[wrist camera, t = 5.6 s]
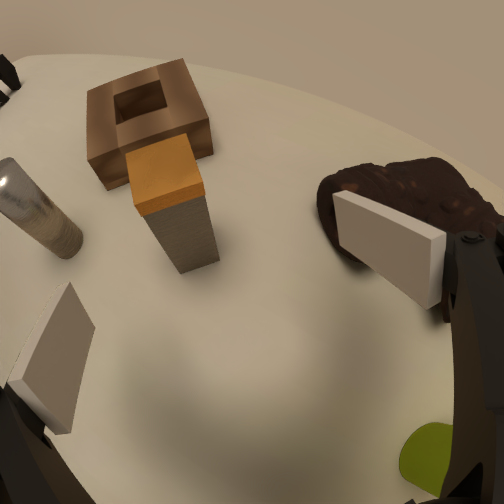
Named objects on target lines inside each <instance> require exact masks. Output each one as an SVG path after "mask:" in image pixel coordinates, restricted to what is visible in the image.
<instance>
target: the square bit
mask: <svg viewBox="0 0 504 504" xmlns="http://www.w3.org/2000/svg"><path fill="white" fill-rule="evenodd" d="M125 156H126V162H127V168H128V174H129V180H130V186H131V191H132V197H133V202H134V206H135V207H136V209H137V211H138V212H139V214H140V215H141V217H142V216H143V218H144V219H145V221H146V223H147V224H148V226H149V227H150V229H151V230H152V232H153V234H154V235H155V237H156V238H157V240H158V241H159V243H160V244H161V246H162V247H163V249H164V251H165V252H166V254H167V255H168V257H169V258H170V260H171V261H172V263H173V264H174V266H175V267H176V269H177V270H178V271H179V273H180V274H182V273H185V272H188V271H191V270H193V269H196V268H199V267H202V266H205V265H208V264H211V263H214V262H217V261H220V258H219V254H218V250H217V246H216V242H215V237H214V233H213V229H212V225H211V220H210V216H209V212H208V207H207V203H206V199H205V195H206V194H205V189H204V184H203V180H202V178H201V175H200V172H199V169H198V166H197V163H196V161H195V158H194V155H193V152H192V149H191V146H190V143H189V140H188V137H187V134H186V133H184V134H181V135H178V136H175V137H172V138H169V139H166V140H163V141H160V142H157V143H154V144H151V145H148V146H145V147H142V148H140V149H137V150H134V151H132V152H129V153H126V154H125Z"/></svg>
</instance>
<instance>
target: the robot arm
mask: <svg viewBox="0 0 504 504" xmlns="http://www.w3.org/2000/svg"><path fill="white" fill-rule="evenodd" d="M332 195H333V201H334V207H335V214H336V221H337V228H338V236H339V244H340V246H342V247H343V248H344V249H346V250H347V251H349V252H350V253H351V254H353V255H354V256H356V257H357V258H358V259H360V260H361V261H362V262H364V263H365V264H367V265H368V266H369V267H371V268H372V269H373V270H375V271H376V272H377V273H379V274H380V275H381V276H383V277H384V278H385V279H387V280H388V281H389V282H391V283H392V284H393V285H395V286H396V287H397V288H399V289H400V290H401V291H403V292H404V293H405V294H407V295H408V296H409V297H410V298H412V299H413V300H414V301H416V302H417V303H418V304H419V305H421V306H422V307H423V308H424V309H426V310H427V309H429V308H431V307H433V306H434V305H436V304H438V303H439V302H441V296H442V287H443V288H445V289H446V290H447V291H449V298H448V305H447V311H446V317H448V316H449V313H450V321H451V331H452V344H453V363H454V416H453V434H452V446H451V456H450V463H449V467H448V471H447V473H446V476H445V478H444V481H443V485H442V488H441V493H440V497H439V499H433V500H430V501H426V502H422V503H419V504H504V223H500V224H498V225H497V230H496V237H493V238H488V239H487V238H486V237H485V236H484V235H483V234H481V233H478V232H474V231H461V232H459V233H457V234H456V235H455V234H452V233H450V232H448V231H446V230H444V229H442V228H440V227H437V226H434V225H433V224H431V223H427V222H426V221H424V220H422V219H420V218H416V217H411V216H408V215H406V214H404V213H401V212H399V211H397V210H394V209H392V208H390V207H387V206H385V205H382V204H380V203H377V202H375V201H372V200H370V199H367V198H365V197H362V196H360V195H357V194H355V193H352V192H349V191H347V190H344V191H341V192H338V193H334V194H332ZM94 330H95V326H94V325H93V323H92V321H91V319H90V318H89V316H88V314H87V312H86V311H85V309H84V307H83V305H82V303H81V301H80V300H79V298H78V296H77V294H76V292H75V290H74V288H73V286H72V284H71V282H67V283H64V284H62V285H59V286H57V288H56V290H55V291H54V293H53V295H52V296H51V298H50V300H49V301H48V303H47V305H46V306H45V308H44V310H43V312H42V313H41V315H40V317H39V319H38V320H37V322H36V324H35V326H34V328H33V330H32V331H31V333H30V335H29V337H28V339H27V341H26V343H25V345H24V347H23V349H22V351H21V353H20V354H19V356H18V358H17V360H16V363H15V365H14V367H13V370H12V371H11V373H10V375H9V378H8V380H7V382H6V384H5V387H4V389H2V387H1V386H0V504H96V503H95V502H94V500H93V499H92V498H91V497H90V495H89V494H88V493H87V492H86V490H85V489H84V488H83V487H82V485H81V484H80V483H79V481H78V480H77V479H76V477H75V476H74V475H73V473H72V472H71V470H70V469H69V467H68V466H67V465H66V463H65V462H64V460H63V459H62V457H61V456H60V454H59V453H58V451H57V450H56V448H55V446H54V445H53V443H52V442H51V440H50V439H49V438H48V437H47V436H46V435H45V434H44V428H45V425H46V426H47V427H48V428H49V429H50V430H51V431H52V432H53V433H54V434H55V435H59V434H67V433H71V430H72V424H73V418H74V413H75V408H76V403H77V398H78V393H79V389H80V384H81V380H82V376H83V372H84V368H85V364H86V360H87V356H88V352H89V348H90V345H91V341H92V337H93V334H94ZM405 504H416V503H415V502H414V500H413V499H411V500H410V501H408V502H406V503H405Z"/></svg>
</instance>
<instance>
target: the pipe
mask: <svg viewBox="0 0 504 504" xmlns="http://www.w3.org/2000/svg"><path fill="white" fill-rule="evenodd" d="M344 190H347V191H349V192H352V193H355V194H357V195H360V196H362V197H365V198H367V199H370V200H372V201H375V202H377V203H380V204H382V205H385V206H387V207H390V208H392V209H394V210H397V211H399V212H401V213H404V214H406V215H408V216H411V217H416V218H420V219H422V220H424V221H426V222H427V223H431V224H433V225H434V226H437V227H440V228H442V229H444V230H446V231H448V232H450V233H452V234H455V235H456V234H457V233H459V232H461V231H474V232H478V233H481V234H483V235H484V236H485V237H486V238H487V239H488V238H493V237H496V230H497V225H498V224H500V223H504V216H502V215H499V214H498V213H497V212H496V211H495V209H494V207H493V205H492V204H491V203H490V202H486V201H484V200H483V198H482V196H481V195H480V194H479V192H478V191H476V190H475V189H474V188H470V187H469V186H468V184H467V182H466V181H465V179H464V178H463V176H462V175H461V174H460V173H459V172H458V171H457V170H456V169H455V168H454V167H453V166H452V165H451V164H449V163H448V162H447V161H445V160H443V159H441V158H437V157H430V158H427V159H424V158H423V159H416V160H411V161H404V162H393V163H389V164H387V165H386V166H385V167H383V166H379V165H374V164H372V163H365V164H360V165H359V166H358V165H357V166H354V167H350V168H344V169H343V170H339V171H338V172H337V173H336V174H332V175H329V176H327V177H325V178H324V179H323V180H322V181H321V183H320V185H319V188H318V191H317V208H318V212H319V216H320V219H321V222H322V224H323V226H324V228H325V230H326V232H327V234H328V236H329V238H330V240H331V241H332V243H333V245H334V246H335V248H337V249H338V250H339V251H340V252H342V253H343V254H344V255H346V256H347V257H349V258H350V259H352V260H354V261H356V262H361V263H364V262H362V261H361V260H360V259H358V258H357V257H356V256H354V255H353V254H351V253H350V252H349V251H347V250H346V249H344V248H343V247H342V246H340V244H339V236H338V228H337V221H336V214H335V207H334V201H333V195H332V194H334V193H338V192H341V191H344ZM448 298H449V291H447V290H446V289H445V288H443V287H442V296H441V302H439V307H440V309H441V311H442V313H443V321H444V322H445V323H451V321H450V313H449V316H448V317H446V311H447V305H448Z"/></svg>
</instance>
